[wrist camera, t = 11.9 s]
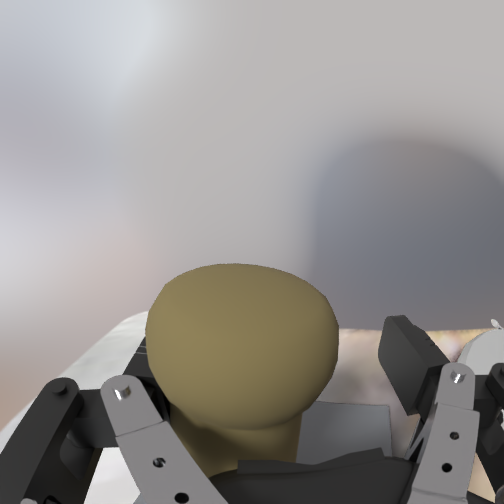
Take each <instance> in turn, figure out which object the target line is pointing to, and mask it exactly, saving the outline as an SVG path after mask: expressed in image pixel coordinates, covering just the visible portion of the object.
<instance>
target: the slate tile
mask: <svg viewBox="0 0 504 504" xmlns="http://www.w3.org/2000/svg"><path fill="white" fill-rule="evenodd" d="M379 447H381V448H382V450H383V453H384V456H392V445H391V429H390V416H389V406H380V405H357V404H342V403H330V402H320V401H315V402H314V403H313V404H312V405H311V407H310V408H309V409H308V410H306V411H304V412H303V414H302V422H301V430H300V437H299V444H298V451H297V458H296V463H301V464H309V465H315V464H319V463H322V462H325V461H328V460H331V459H334V458H337V457H340V456H342V455H345V454H348V453H352V452H358V451H364V450H369V449H375V448H379ZM133 504H147V503H146V501H145V500H144V498H143V496H142V494H141V493H140V495H139V496H138V498H137V499H136V501H135V502H134V503H133Z"/></svg>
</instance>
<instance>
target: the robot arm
mask: <svg viewBox="0 0 504 504" xmlns="http://www.w3.org/2000/svg"><path fill="white" fill-rule="evenodd" d="M378 358H379V362H380V364H381V366H382V367H383V369H384V371H385V373H386V375H387V377H388V379H389V380H390V382H391V384H392V386H393V388H394V390H395V392H396V394H397V396H398V398H399V400H400V402H401V404H402V405H403V407H404V409H405V411H406V413H407V415H408V416H409V415H413V414H417V413H419V414H420V418H419V420H418V422H417V425H416V428H415V431H414V433H413V436H412V439H411V442H410V444H409V447H408V449H407V452H406V454H405V457H404V459H403V458H398V457H392V456H384V453H383V450H382V448H381V447H379V448H375V449H369V450H364V451H358V452H352V453H348V454H345V455H342V456H340V457H337V458H334V459H331V460H328V461H325V462H322V463H319V464H315V465H309V464H301V463H293V462H286V461H280V460H238V466H237V469H234V470H229V471H225V472H221V473H219V474H216V475H213V476H211V477H209V478H207V477H206V476H205V474H204V473H203V472H202V471H201V469H200V468H199V467H198V465H197V464H196V462H195V461H194V460H193V458H192V457H191V456H190V454H189V453H188V451H187V450H186V449H185V447H184V446H183V444H182V443H181V441H180V440H179V438H178V437H177V435H176V434H175V432H174V431H173V429H172V428H171V426H170V405H169V400H168V399H167V397H166V395H165V394H164V392H163V391H162V389H161V388H160V386H159V385H158V383H157V381H156V379H155V377H154V375H153V373H152V371H151V369H150V367H149V363H148V356H147V350H146V336H145V337H144V339H143V340H142V342H141V344H140V347H138V349H137V350H136V353H135V354H134V355H133V357H132V359H131V361H130V362H129V364H128V366H127V367H126V369H125V371H124V373H123V374H122V375H118V376H114V377H112V378H110V379H108V380H107V381H106V382H104V384H103V385H102V387H101V389H93V390H80V389H79V387H78V385H77V383H76V382H75V381H74V380H73V379H70V378H57V379H54V380H52V381H50V382H49V383H47V384H46V385H45V387H44V388H43V389H42V391H41V392H40V394H39V395H38V396H37V398H36V399H35V401H34V402H33V404H32V405H31V407H30V408H29V410H28V411H27V413H26V414H25V416H24V417H23V419H22V420H21V422H20V423H19V425H18V426H17V428H16V430H15V431H14V433H13V434H12V436H11V438H10V439H9V441H8V442H7V444H6V446H5V447H4V449H3V451H2V452H1V454H0V504H84V501H85V498H86V495H87V492H88V489H89V486H90V483H91V481H92V478H93V475H94V472H95V469H96V467H97V464H98V461H99V459H100V456H101V453H102V451H103V448H108V447H119V448H120V451H121V453H122V455H123V457H124V460H125V462H126V464H127V466H128V468H129V470H130V473H131V475H132V477H133V479H134V481H135V483H136V485H137V487H138V488H139V490H140V492H141V494H142V496H143V498H144V500H145V501H146V503H147V504H504V430H503V428H502V426H501V425H500V423H499V421H498V420H497V417H498V415H499V414H500V412H501V411H502V409H503V410H504V363H496V364H494V365H493V366H492V368H491V370H490V372H489V374H488V375H475V374H474V372H473V370H472V369H471V368H470V367H468V366H467V365H465V364H462V363H458V362H450V361H449V360H448V358H447V357H446V356H445V355H444V354H443V352H442V351H441V350H440V349H439V348H438V346H437V345H435V343H434V342H433V341H432V340H430V337H429V336H428V335H427V334H426V332H425V331H423V330H422V329H420V328H418V327H417V326H415V325H413V324H412V323H411V322H410V321H409V320H408V318H407V317H406V316H405V315H400V316H389V317H387V318H386V319H385V322H384V327H383V331H382V336H381V340H380V344H379V348H378ZM475 451H476V453H477V455H478V457H479V459H480V461H481V463H482V465H483V467H484V469H485V472H486V474H487V476H488V478H489V480H490V483H491V485H492V487H493V490H494V492H495V494H496V496H495V503H493V502H491V501H489V500H487V499H484V498H482V497H480V496H478V495H476V494H474V493H471V492H469V491H467V489H468V485H469V481H470V477H471V472H472V467H473V462H474V456H475Z"/></svg>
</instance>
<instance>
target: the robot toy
mask: <svg viewBox="0 0 504 504" xmlns="http://www.w3.org/2000/svg"><path fill="white" fill-rule="evenodd" d="M491 322H492V324H493V325H494V326H495V327H497V328H498V329H493V330H490V331H487V332H484V333H482V334H480V335H478V336H476V337H475V338H474V339H472V340H471V341H469V342H468V343H467V344H466V345H465V347H464V349H463V351H462V353H461V355H460V357H459V359H458V361H457V362H458V363H462V364H465V365H467V366H468V367H470V368H471V369H472V370H473V372H474V374H475V375H488V374H489V372H490V370H491V368H492V366H493V365H494V364H496V363H504V329H503V328H502V327H501V326H500V325H499V324H498V322H497V321H496V320H493V319H491ZM497 420H498V421H499V423H500V425H501V426H502V428H503V430H504V410H503V409H502V411H501V412H500V414H499V415H498V417H497Z"/></svg>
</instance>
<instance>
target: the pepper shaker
mask: <svg viewBox="0 0 504 504" xmlns="http://www.w3.org/2000/svg"><path fill="white" fill-rule="evenodd" d="M145 334H146V350H147V356H148V363H149V367H150V369H151V371H152V373H153V375H154V377H155V379H156V381H157V383H158V385H159V386H160V388H161V389H162V391H163V392H164V394H165V395H166V397H167V399H168V400H169V405H170V426H171V428H172V429H173V431H174V432H175V434H176V435H177V437H178V438H179V440H180V441H181V443H182V444H183V446H184V447H185V449H186V450H187V451H188V453H189V454H190V456H191V457H192V458H193V460H194V461H195V462H196V464H197V465H198V467H199V468H200V469H201V471H202V472H203V473H204V474H205V476H206V477H207V478H209V477H211V476H213V475H216V474H219V473H221V472H225V471H229V470H234V469H237V466H238V460H280V461H286V462H293V463H296V458H297V451H298V444H299V437H300V430H301V422H302V414H303V412H304V411H306V410H308V409H309V408H310V407H311V405H312V404H313V403H314V402H315V400H316V399H317V398H318V396H319V395H320V394H321V392H322V391H323V389H324V388H325V386H326V385H327V384H328V382H329V381H330V379H331V378H332V375H333V372H334V369H335V366H336V363H337V361H338V346H339V325H338V323H337V320H336V317H335V315H334V312H333V310H332V307H331V306H330V304H329V302H328V300H327V298H326V297H325V296H324V295H323V294H322V293H321V292H319V291H318V290H317V289H316V288H314V287H313V286H312V285H311V284H309V283H308V282H306V281H305V280H302V279H300V278H299V277H296V276H295V275H292V274H290V273H287V272H284V271H281V270H277V269H274V268H269V267H263V266H258V265H249V264H217V265H210V266H204V267H200V268H196V269H194V270H191V271H188V272H185V273H183V274H181V275H179V276H177V277H176V278H174V279H173V280H171V281H170V282H168V283H167V284H165V286H164V287H163V289H162V291H161V292H160V294H159V295H158V297H157V298H156V300H155V302H154V304H153V305H152V307H151V309H150V311H149V313H148V318H147V323H146V329H145Z"/></svg>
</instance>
